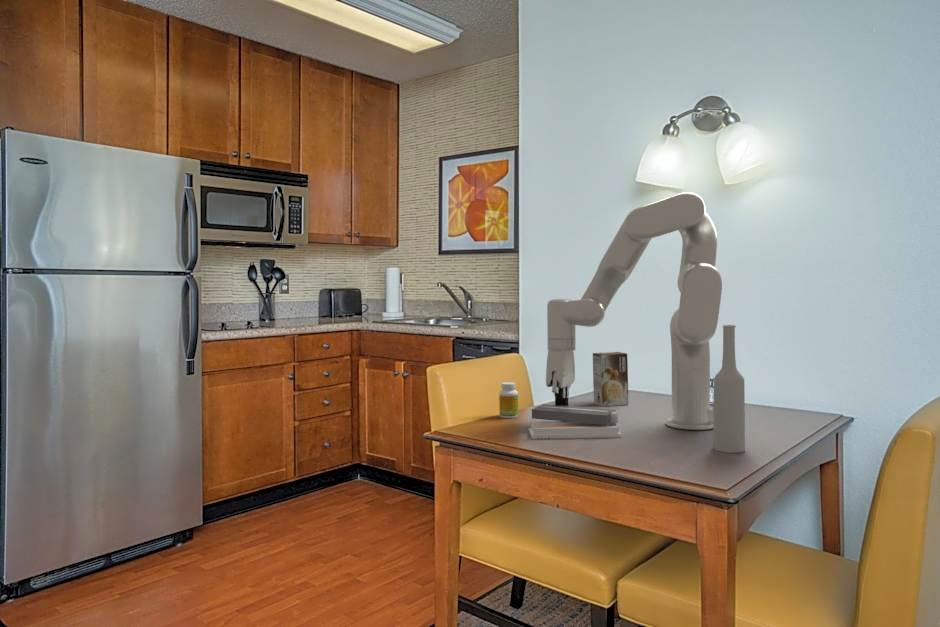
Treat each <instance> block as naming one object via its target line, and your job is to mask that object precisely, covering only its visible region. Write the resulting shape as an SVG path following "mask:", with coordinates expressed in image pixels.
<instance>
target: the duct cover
mask: <svg viewBox="0 0 940 627" xmlns="http://www.w3.org/2000/svg"><path fill="white" fill-rule="evenodd" d="M532 419H533V420H534V419H535V420H545V421H553V422H555V421H566V422H577V423H588V424H599V425H608V424H609V423H616V424H618V423H619V412H618V411H616V409H610V408H609V409H608V408H600V407H599V408H597V407H584V406H571V405H568V406H560V405H555V404H545V403H544V404H541V405H539V406H537V407H534V408H532V409H531V420H532Z"/></svg>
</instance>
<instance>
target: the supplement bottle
mask: <svg viewBox="0 0 940 627" xmlns="http://www.w3.org/2000/svg"><path fill="white" fill-rule="evenodd" d="M500 388H501V389H502V390H500V391H499V399H498V400H499V405H498V406H499V417H500V418H502V419H516V418H518V417H519V391H517V389H516V383H515V382H512V381H510V382H509V381H505V382H502V383H501V386H500Z"/></svg>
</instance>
